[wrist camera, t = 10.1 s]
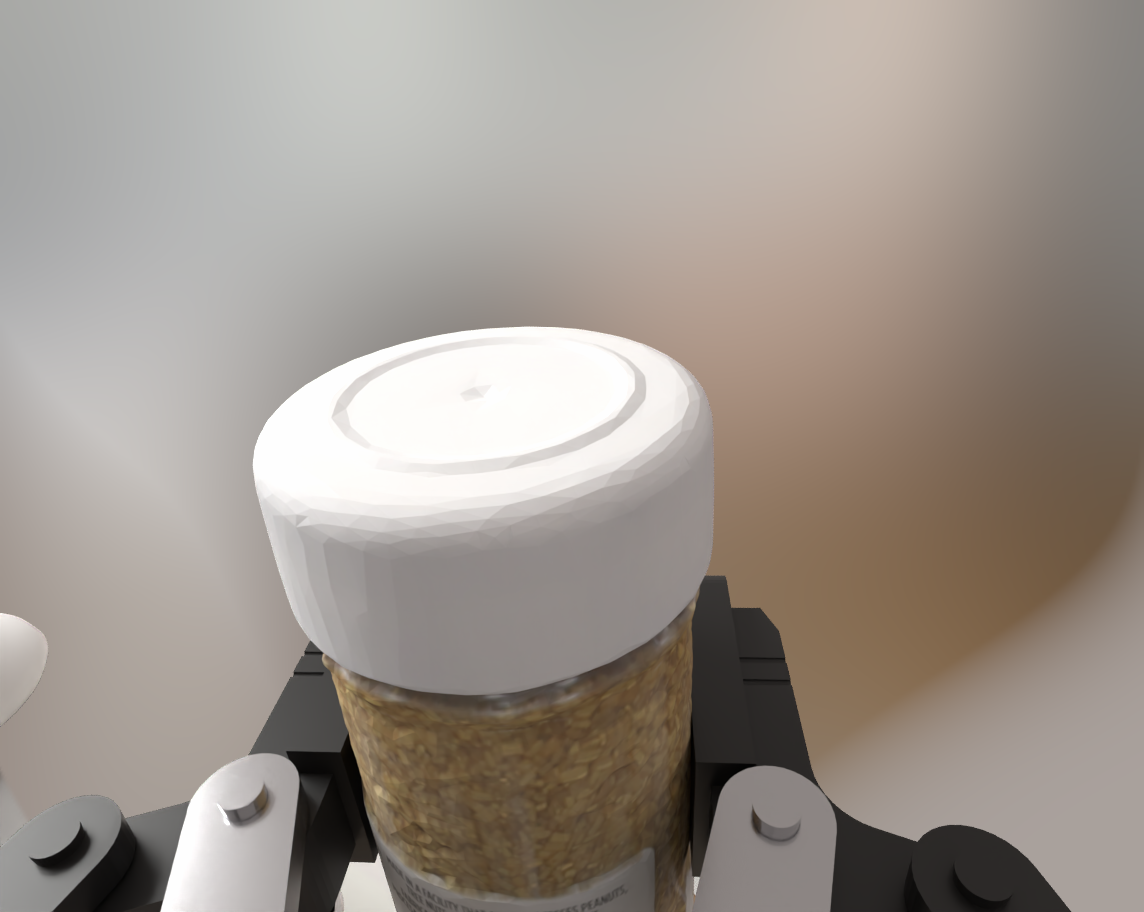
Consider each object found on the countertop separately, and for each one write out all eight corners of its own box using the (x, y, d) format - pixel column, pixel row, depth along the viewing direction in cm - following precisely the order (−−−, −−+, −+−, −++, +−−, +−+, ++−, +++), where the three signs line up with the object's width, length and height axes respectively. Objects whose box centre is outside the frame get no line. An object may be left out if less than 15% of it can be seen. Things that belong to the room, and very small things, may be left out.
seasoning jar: (721, 978, 15) (770, 333, 8) (634, 1282, 11) (597, 575, 5) (521, 885, 17) (430, 298, 10) (393, 1120, 13) (124, 452, 7)
